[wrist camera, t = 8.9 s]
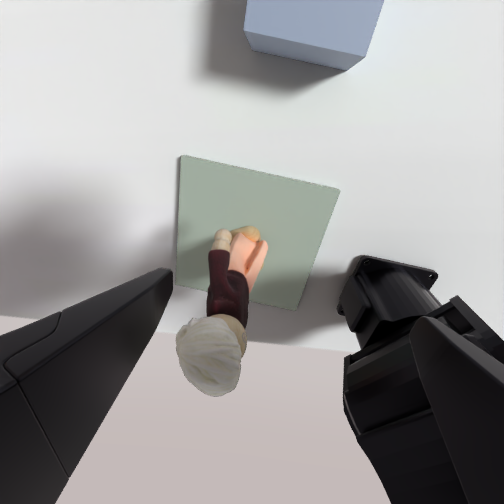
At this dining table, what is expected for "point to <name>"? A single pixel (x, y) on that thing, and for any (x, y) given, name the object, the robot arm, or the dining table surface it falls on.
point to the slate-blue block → (313, 29)
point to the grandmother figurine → (223, 313)
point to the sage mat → (251, 214)
